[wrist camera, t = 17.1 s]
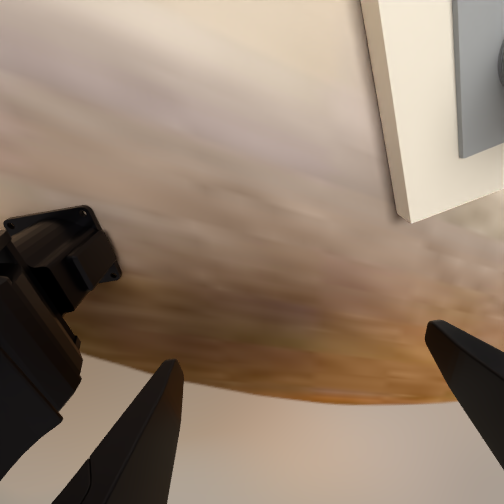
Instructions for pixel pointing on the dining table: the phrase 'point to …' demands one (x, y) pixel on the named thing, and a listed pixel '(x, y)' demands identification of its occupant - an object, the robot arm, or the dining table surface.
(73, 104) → the dining table surface
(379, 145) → the dining table surface
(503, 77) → the metal cylinder
